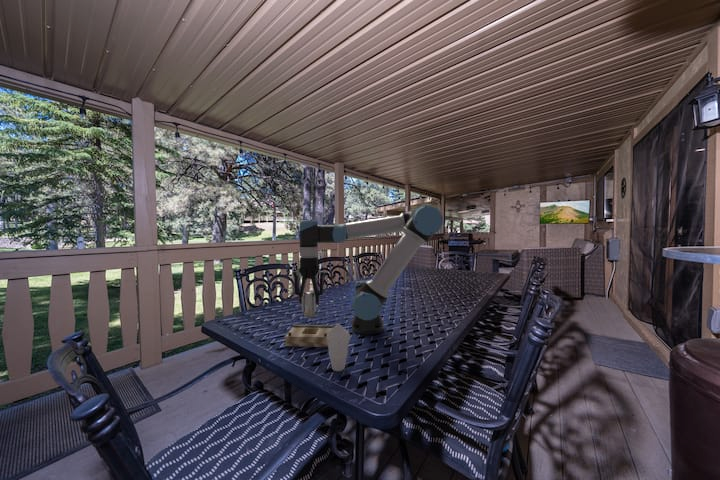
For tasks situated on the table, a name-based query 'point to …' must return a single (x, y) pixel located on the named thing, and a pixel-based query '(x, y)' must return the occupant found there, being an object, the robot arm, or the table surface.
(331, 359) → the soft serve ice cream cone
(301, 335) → the plate
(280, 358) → the table surface
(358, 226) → the robot arm
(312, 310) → the grey metal peg
